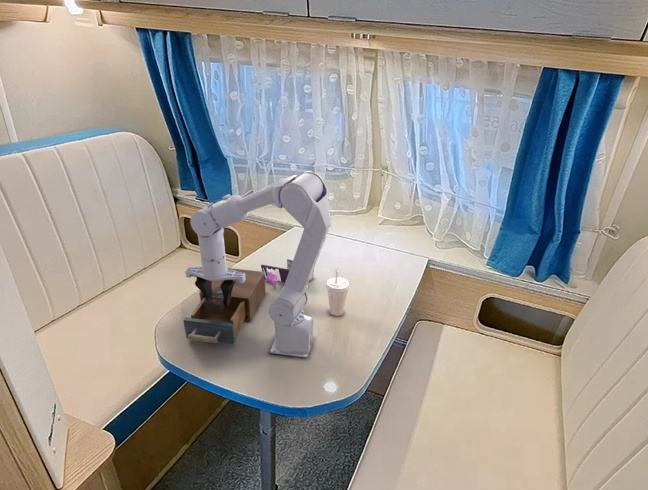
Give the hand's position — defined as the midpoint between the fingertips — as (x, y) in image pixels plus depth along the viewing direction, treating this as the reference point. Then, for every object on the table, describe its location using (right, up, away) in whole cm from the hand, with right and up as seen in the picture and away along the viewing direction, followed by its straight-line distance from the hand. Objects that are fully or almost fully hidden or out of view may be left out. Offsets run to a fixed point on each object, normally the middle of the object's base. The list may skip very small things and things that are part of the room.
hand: (218, 303), depth 109 cm
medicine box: (+19, +6, +27) cm, 33 cm away
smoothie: (+30, -3, +13) cm, 33 cm away
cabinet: (+1, -1, +14) cm, 14 cm away
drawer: (-1, -7, +2) cm, 7 cm away
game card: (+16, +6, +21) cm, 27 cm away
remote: (0, 0, 0) cm, 0 cm away
